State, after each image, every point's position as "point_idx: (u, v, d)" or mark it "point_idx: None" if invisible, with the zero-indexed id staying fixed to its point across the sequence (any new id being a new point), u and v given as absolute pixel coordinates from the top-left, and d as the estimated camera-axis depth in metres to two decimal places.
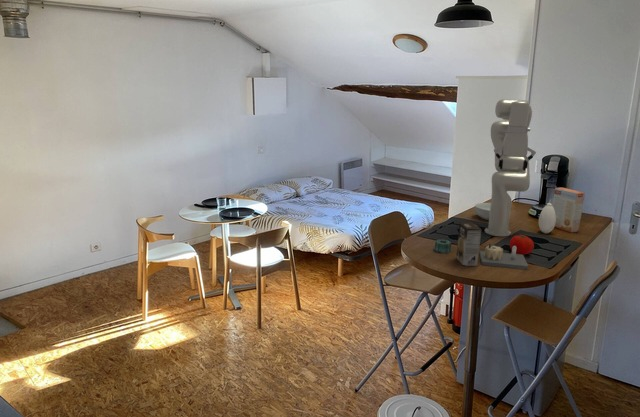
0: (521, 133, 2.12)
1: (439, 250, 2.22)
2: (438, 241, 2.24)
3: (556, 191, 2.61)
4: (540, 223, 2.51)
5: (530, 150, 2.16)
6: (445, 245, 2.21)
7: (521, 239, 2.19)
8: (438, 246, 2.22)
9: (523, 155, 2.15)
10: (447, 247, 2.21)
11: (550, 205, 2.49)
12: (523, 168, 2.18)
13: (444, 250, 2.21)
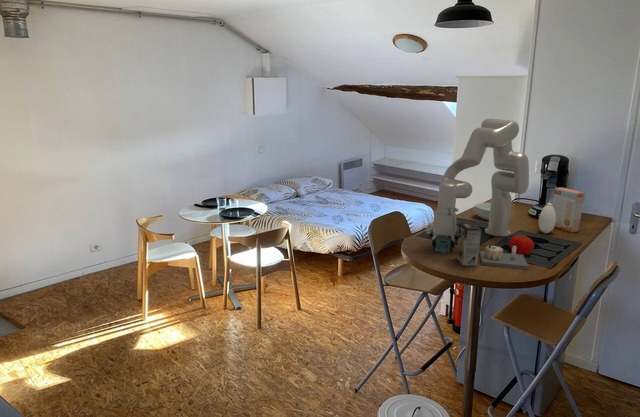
0: (449, 214, 2.17)
1: (439, 250, 2.22)
2: (438, 241, 2.24)
3: (556, 191, 2.61)
4: (540, 223, 2.51)
5: (458, 231, 2.20)
6: (445, 245, 2.21)
7: (521, 239, 2.19)
8: (438, 246, 2.22)
9: (452, 234, 2.20)
10: (447, 247, 2.21)
11: (550, 205, 2.49)
12: None
13: (444, 250, 2.21)
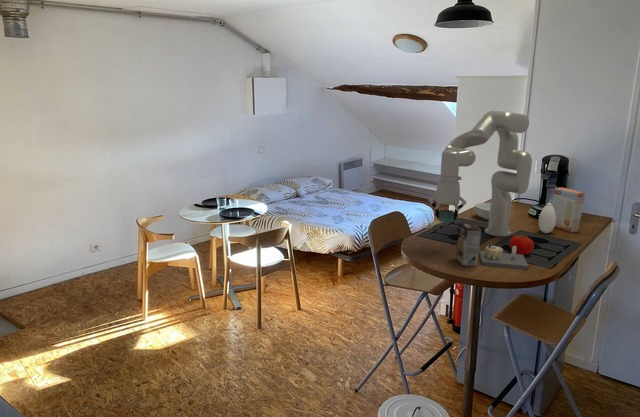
0: (452, 182, 2.13)
1: (442, 220, 2.19)
2: (441, 211, 2.21)
3: (556, 191, 2.61)
4: (540, 223, 2.51)
5: (461, 199, 2.17)
6: (448, 214, 2.18)
7: (521, 239, 2.19)
8: (441, 216, 2.19)
9: (455, 203, 2.17)
10: (450, 216, 2.18)
11: (550, 205, 2.49)
12: (454, 217, 2.20)
13: (447, 220, 2.18)
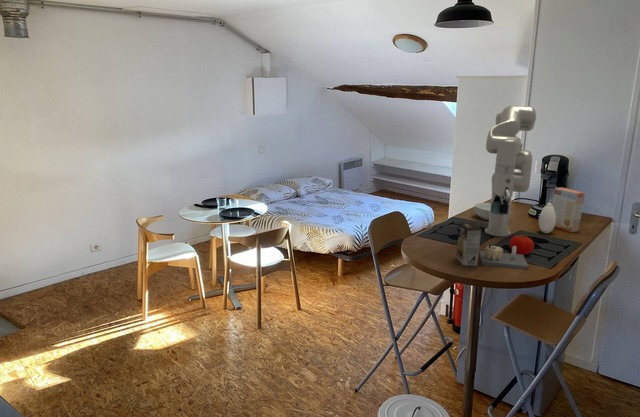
0: (497, 171, 2.04)
1: None
2: (498, 202, 2.11)
3: (556, 191, 2.61)
4: (540, 223, 2.51)
5: (506, 193, 2.01)
6: (494, 205, 2.08)
7: (521, 239, 2.19)
8: None
9: (499, 195, 2.04)
10: (495, 208, 2.07)
11: (550, 205, 2.49)
12: None
13: (493, 210, 2.09)
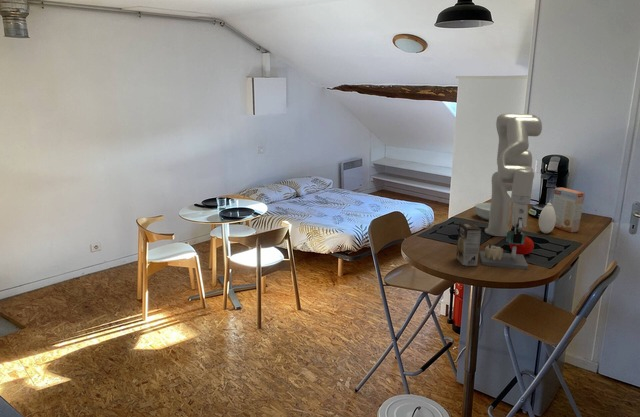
0: (512, 201, 2.04)
1: None
2: None
3: (556, 191, 2.61)
4: (540, 223, 2.51)
5: (518, 223, 2.01)
6: (509, 234, 2.08)
7: None
8: None
9: (513, 225, 2.04)
10: None
11: (550, 205, 2.49)
12: None
13: (508, 239, 2.09)
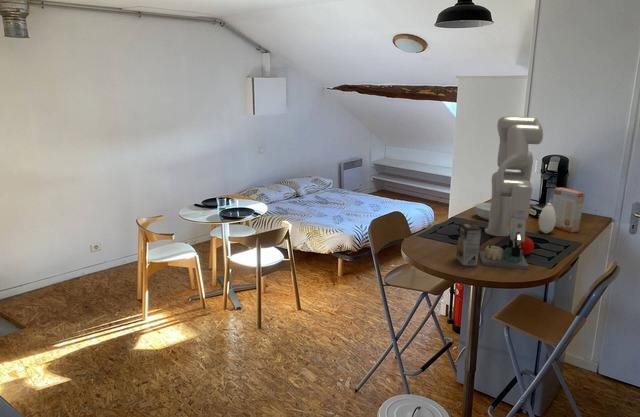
0: (510, 215, 2.06)
1: None
2: None
3: (556, 191, 2.61)
4: (540, 223, 2.51)
5: (516, 237, 2.03)
6: (507, 251, 2.10)
7: None
8: None
9: (511, 239, 2.06)
10: None
11: (550, 205, 2.49)
12: None
13: (506, 256, 2.11)
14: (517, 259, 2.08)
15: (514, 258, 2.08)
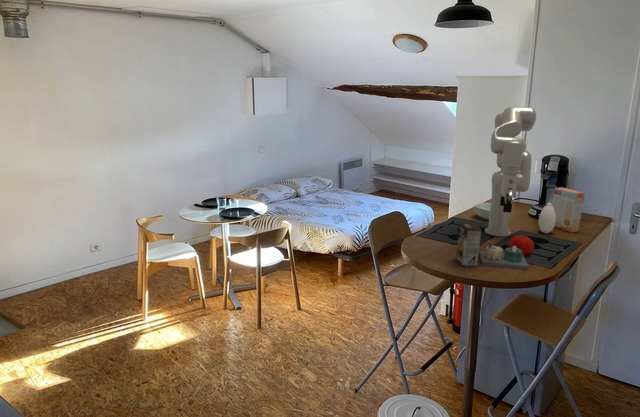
0: (501, 172, 2.09)
1: None
2: None
3: (556, 191, 2.61)
4: (540, 223, 2.51)
5: (508, 192, 2.06)
6: (507, 251, 2.10)
7: (521, 239, 2.19)
8: None
9: (503, 195, 2.09)
10: None
11: (550, 205, 2.49)
12: None
13: (506, 256, 2.11)
14: (517, 259, 2.08)
15: (514, 258, 2.08)
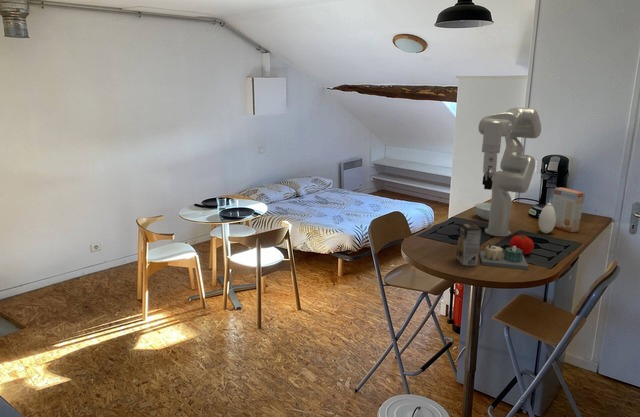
0: (482, 151, 2.18)
1: None
2: None
3: (556, 191, 2.61)
4: (540, 223, 2.51)
5: (488, 170, 2.15)
6: (507, 251, 2.10)
7: (521, 239, 2.19)
8: None
9: (484, 173, 2.19)
10: None
11: (550, 205, 2.49)
12: None
13: (506, 256, 2.11)
14: (517, 259, 2.08)
15: (514, 258, 2.08)
